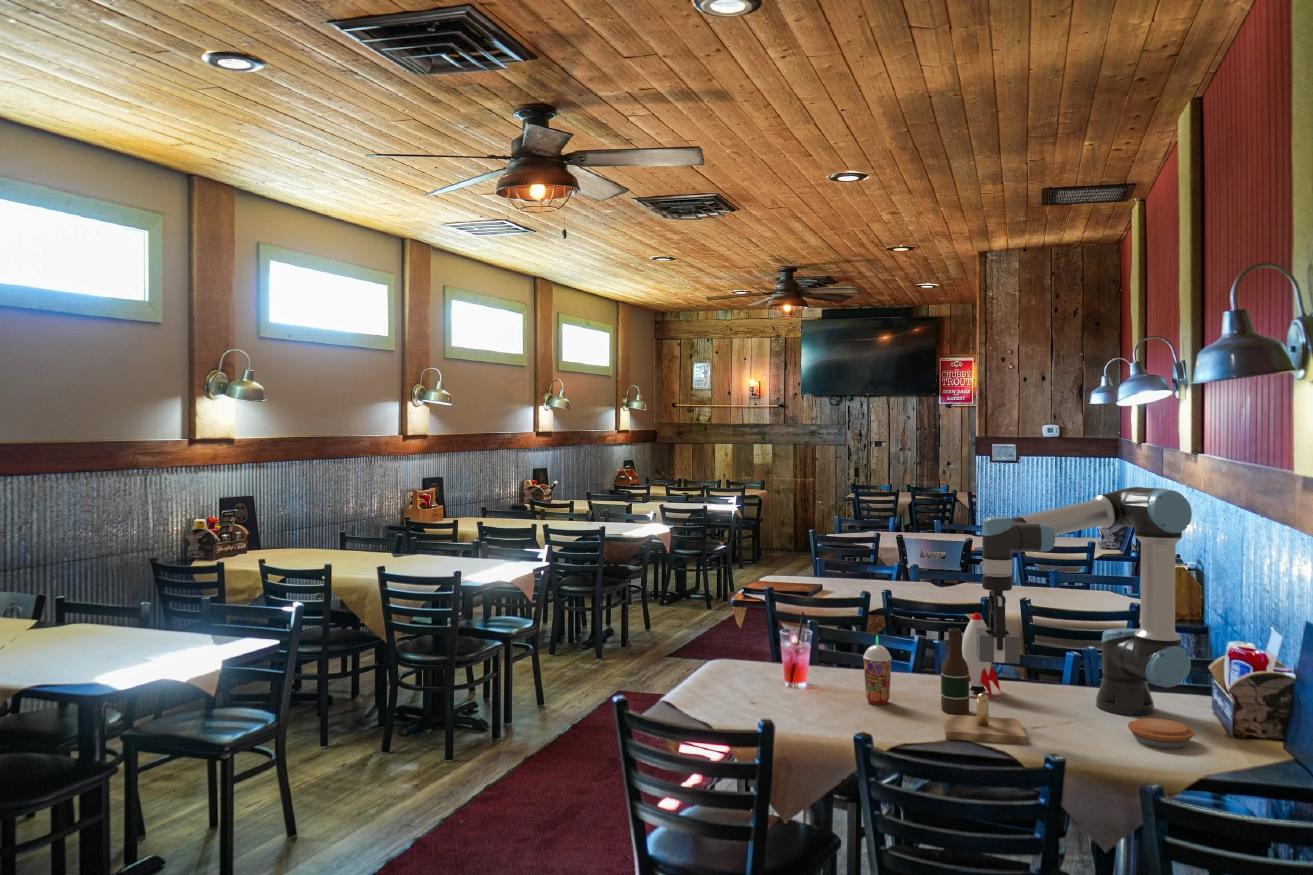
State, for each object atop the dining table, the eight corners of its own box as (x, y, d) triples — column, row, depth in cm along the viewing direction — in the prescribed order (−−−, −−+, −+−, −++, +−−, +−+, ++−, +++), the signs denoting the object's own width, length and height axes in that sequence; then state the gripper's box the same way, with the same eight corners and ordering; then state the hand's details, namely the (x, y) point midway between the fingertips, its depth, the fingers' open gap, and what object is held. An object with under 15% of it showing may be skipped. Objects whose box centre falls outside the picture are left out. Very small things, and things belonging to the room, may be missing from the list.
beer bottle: (970, 715, 275) (970, 631, 275) (942, 714, 276) (941, 630, 276) (967, 708, 282) (966, 626, 282) (940, 706, 284) (939, 625, 284)
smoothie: (861, 704, 287) (860, 637, 287) (866, 697, 295) (865, 632, 295) (889, 707, 284) (889, 639, 284) (894, 699, 292) (893, 634, 292)
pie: (1166, 755, 239) (1166, 735, 239) (1114, 737, 254) (1114, 719, 254) (1209, 746, 246) (1208, 727, 246) (1155, 730, 260) (1155, 711, 260)
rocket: (1000, 691, 300) (999, 611, 300) (992, 699, 291) (991, 616, 291) (964, 686, 306) (963, 608, 306) (955, 694, 297) (954, 613, 297)
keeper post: (988, 723, 260) (987, 692, 260) (989, 726, 257) (988, 695, 257) (976, 722, 261) (976, 691, 261) (977, 726, 258) (977, 694, 258)
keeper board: (1018, 725, 265) (1018, 718, 265) (1026, 743, 249) (1026, 736, 249) (942, 721, 269) (942, 714, 269) (945, 738, 254) (945, 731, 254)
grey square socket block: (1014, 655, 262) (1014, 629, 262) (1019, 663, 252) (1019, 636, 252) (976, 653, 264) (976, 627, 264) (979, 661, 254) (979, 635, 254)
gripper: (978, 568, 270) (978, 647, 270) (986, 580, 248) (986, 666, 248) (1006, 569, 268) (1006, 649, 268) (1017, 581, 246) (1017, 668, 246)
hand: (997, 657), depth 258 cm, fingers closed on grey square socket block, 10 cm apart
